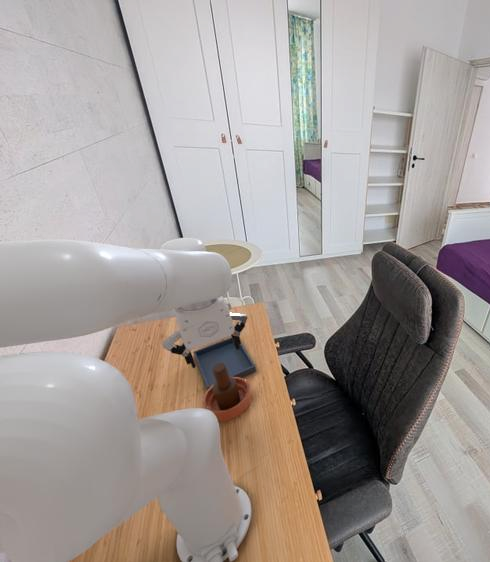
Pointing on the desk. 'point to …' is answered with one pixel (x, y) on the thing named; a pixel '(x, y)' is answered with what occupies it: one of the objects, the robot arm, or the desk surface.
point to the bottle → (225, 388)
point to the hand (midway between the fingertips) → (215, 354)
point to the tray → (223, 360)
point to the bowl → (235, 411)
